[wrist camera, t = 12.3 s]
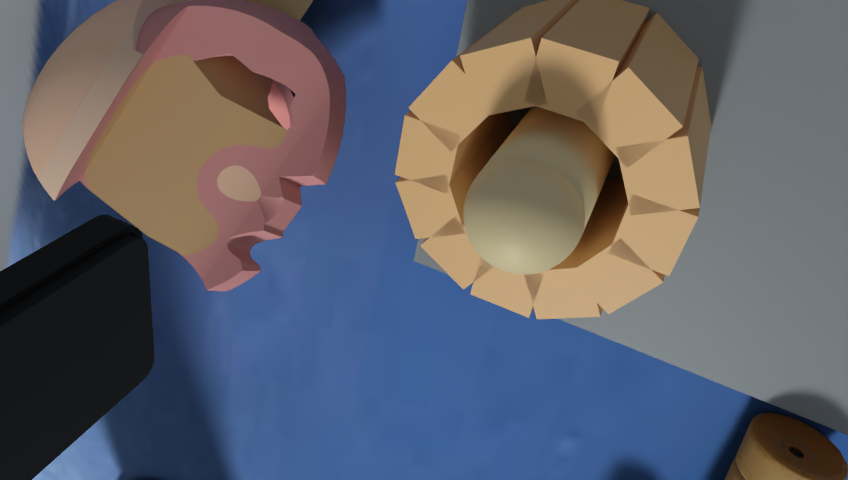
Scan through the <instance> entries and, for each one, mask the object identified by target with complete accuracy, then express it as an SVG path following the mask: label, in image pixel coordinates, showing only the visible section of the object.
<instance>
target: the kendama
mask: <svg viewBox="0 0 848 480" xmlns="http://www.w3.org/2000/svg"><path fill="white" fill-rule="evenodd" d="M847 474H848V466H847V463H846V461H845V459H844V458H843V456H842V454H841V452H840V451H839V450H838V449H837V447H836V446H834V444H833V443H832V442H831V441H830V440H829V439H828V438H827V437H825V436H824V435H823V434H822V433H820V432H819V431H817V430H816V429H815V428H813V427H812V426H809V425H808V424H806V423H804V422H802V421H799V420H797V419H794V418H792V417H789V416H787V415H783V414H778V413H773V412H766V413H761V414H758V415H756V416H755V417H754V418H753V419H752V420H751V423H750V425H749V427H748V429H747V431H746V434H745V436H744V438H743V441H742V443H741V445H740V447H739V449H738V452H737V455H736V457H735V458H734V460H733V462H732V464H731V466H730V468H729V471H728V473H727V476H726V477H725V479H724V480H845V479H846V477H847Z"/></svg>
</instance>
